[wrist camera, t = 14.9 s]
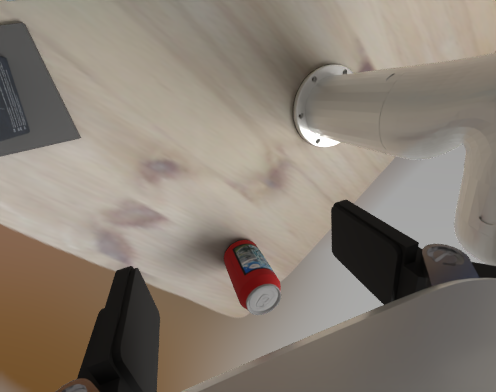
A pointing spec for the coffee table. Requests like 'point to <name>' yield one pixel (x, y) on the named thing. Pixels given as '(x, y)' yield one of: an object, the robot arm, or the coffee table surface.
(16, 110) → the box
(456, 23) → the coffee table surface
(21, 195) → the coffee table surface
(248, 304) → the beverage can
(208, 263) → the coffee table surface
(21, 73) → the mat
